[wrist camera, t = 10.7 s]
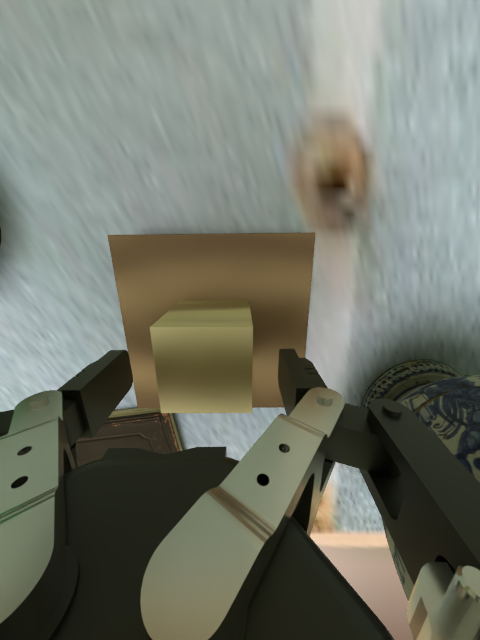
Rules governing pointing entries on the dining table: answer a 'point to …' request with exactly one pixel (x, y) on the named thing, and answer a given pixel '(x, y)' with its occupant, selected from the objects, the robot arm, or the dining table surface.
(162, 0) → the dining table surface
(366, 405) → the decorative vase
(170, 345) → the maple block
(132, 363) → the block
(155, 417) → the hardcover book
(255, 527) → the robot arm
